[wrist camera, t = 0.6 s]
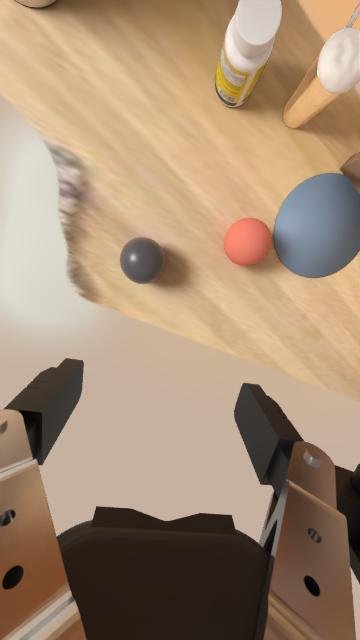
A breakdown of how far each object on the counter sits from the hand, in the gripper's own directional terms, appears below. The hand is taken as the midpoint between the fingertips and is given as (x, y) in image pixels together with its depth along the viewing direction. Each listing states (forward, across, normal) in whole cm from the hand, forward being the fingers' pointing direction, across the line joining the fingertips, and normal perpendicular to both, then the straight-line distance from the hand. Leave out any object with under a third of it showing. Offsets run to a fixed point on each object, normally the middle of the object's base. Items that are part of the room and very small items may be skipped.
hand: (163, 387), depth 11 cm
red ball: (+21, -10, -9) cm, 25 cm away
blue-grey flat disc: (+24, -21, -13) cm, 34 cm away
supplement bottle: (+25, -4, -27) cm, 36 cm away
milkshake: (+25, -12, -26) cm, 38 cm away
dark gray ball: (+21, +4, -4) cm, 22 cm away
